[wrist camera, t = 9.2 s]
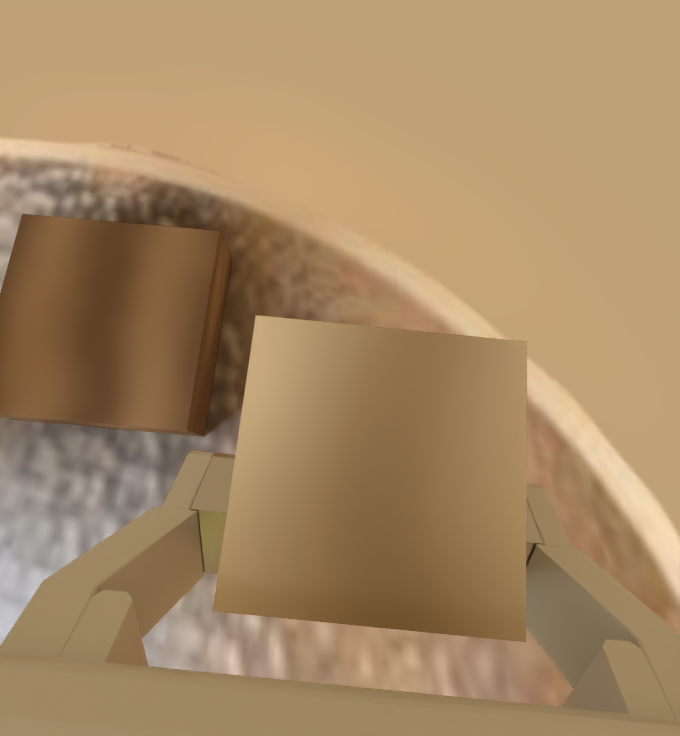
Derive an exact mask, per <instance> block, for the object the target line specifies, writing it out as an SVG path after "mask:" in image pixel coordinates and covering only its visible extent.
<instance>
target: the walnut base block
mask: <svg viewBox="0 0 680 736" xmlns="http://www.w3.org/2000/svg"><path fill="white" fill-rule="evenodd" d="M231 263H232V257H231V255H230V253H229V250H228V248H227V246H226V244H225V242H224V239H223V237H222V235H221V233H220V231H215V230H203V229H192V228H180V227H168V226H157V225H145V224H133V223H122V222H110V221H98V220H87V219H75V218H63V217H52V216H40V215H29V214H22V217H21V221H20V224H19V228H18V232H17V235H16V239H15V242H14V246H13V250H12V253H11V257H10V261H9V264H8V268H7V271H6V275H5V279H4V282H3V286H2V289H1V293H0V417H4V418H9V419H16V420H27V421H38V422H49V423H60V424H71V425H81V426H92V427H103V428H114V429H125V430H136V431H147V432H158V433H169V434H180V435H191V436H202V437H204V436H205V430H206V423H207V417H208V410H209V404H210V397H211V391H212V385H213V378H214V372H215V365H216V359H217V353H218V346H219V340H220V333H221V327H222V321H223V314H224V308H225V301H226V295H227V289H228V282H229V276H230V269H231Z"/></svg>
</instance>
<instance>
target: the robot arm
mask: <svg viewBox="0 0 680 736" xmlns="http://www.w3.org/2000/svg"><path fill="white" fill-rule="evenodd" d="M234 462H235V455H231V454H223V453H210V452H202V451H194V450H192V451H191V452H190V453H189V454H188V455H187V456H186V458H185V460H184V462H183V464H182V467H181V469H180V471H179V473H178V475H177V477H176V479H175V481H174V483H173V485H172V487H171V489H170V491H169V493H168V495H167V497H166V499H165V501H164V503H163V505H162V507H153V508H152V509H150V510H149V511H147V512H146V513H144V514H143V515H141V516H140V517H138V518H137V519H135V520H134V521H132V522H131V523H129V524H128V525H126V526H125V527H123V528H122V529H120V530H119V531H117V532H116V533H114V534H113V535H111V536H110V537H108V538H107V539H105V540H104V541H102V542H101V543H99V544H98V545H96V546H95V547H93V548H92V549H90V550H89V551H87V552H86V553H84V554H83V555H81V556H80V557H78V558H77V559H75V560H74V561H72V562H71V563H69V564H68V565H66V566H65V567H63V568H62V569H60V570H59V571H57V572H56V573H54V574H53V575H51V576H50V577H48V578H47V579H45V580H44V581H43V582H42V583H41V585H40V586H39V588H38V589H37V591H36V593H35V594H34V596H33V597H32V599H31V600H30V602H29V603H28V605H27V606H26V608H25V609H24V611H23V612H22V614H21V615H20V617H19V618H18V620H17V622H16V623H15V625H14V626H13V628H12V629H11V631H10V632H9V634H8V635H7V637H6V638H5V640H4V641H3V643H2V644H1V646H0V736H680V634H678V633H677V632H676V631H675V630H674V629H673V628H671V627H670V626H669V625H668V624H667V623H666V622H664V621H663V620H662V619H661V618H660V617H659V616H657V615H656V614H655V613H654V612H653V611H651V610H650V609H649V608H648V607H647V606H646V605H644V604H643V603H642V602H641V601H640V600H639V599H637V598H636V597H635V596H634V595H633V594H632V593H630V592H629V591H628V590H627V589H626V588H625V587H623V586H622V585H621V584H620V583H619V582H618V581H616V580H615V579H614V578H613V577H612V576H611V575H609V574H608V573H607V572H606V571H605V570H604V569H602V568H601V567H600V566H599V565H598V564H597V563H595V562H594V561H593V560H592V559H591V558H590V557H588V556H587V555H586V554H585V553H584V552H583V551H581V550H580V549H579V548H572V547H571V545H570V543H569V540H568V538H567V536H566V534H565V531H564V529H563V527H562V525H561V522H560V520H559V518H558V516H557V513H556V511H555V509H554V507H553V504H552V502H551V500H550V498H549V495H548V493H547V491H546V488H545V487H544V486H542V485H541V484H529V483H526V628H527V629H528V630H529V631H530V633H531V634H532V635H533V637H534V638H535V639H536V641H537V642H538V643H539V645H540V646H541V647H542V648H543V650H544V651H545V652H546V654H547V655H548V656H549V658H550V659H551V660H552V661H553V663H554V664H555V665H556V667H557V668H558V669H559V671H560V672H561V673H562V675H563V676H564V677H565V678H566V680H567V681H568V682H569V684H570V685H571V686H572V688H573V690H572V691H571V693H570V694H569V696H568V697H567V699H566V700H565V702H564V703H563V705H562V706H561V707H555V706H545V705H534V704H524V703H514V702H504V701H494V700H484V699H474V698H463V697H453V696H443V695H433V694H423V693H413V692H403V691H392V690H382V689H372V688H362V687H351V686H341V685H331V684H321V683H310V682H300V681H290V680H280V679H269V678H259V677H249V676H239V675H229V674H219V673H209V672H199V671H189V670H178V669H168V668H158V667H148V663H147V659H146V655H145V650H144V646H143V642H142V638H143V637H144V636H145V635H146V634H147V633H148V632H149V631H150V630H151V629H152V628H153V627H154V626H155V625H156V624H157V623H158V622H159V620H160V619H161V618H162V617H163V616H164V615H165V614H166V613H167V612H168V611H169V610H170V609H171V608H172V607H173V606H174V605H175V604H176V603H177V602H178V601H179V600H180V599H181V598H182V597H183V596H184V595H185V594H186V593H187V592H188V591H189V590H190V589H191V588H192V587H193V586H194V585H195V584H196V583H197V582H198V581H199V580H200V579H201V578H202V577H203V576H204V575H203V573H212V574H218V572H219V565H220V558H221V551H222V544H223V537H224V530H225V524H226V517H227V510H228V503H229V496H230V489H231V482H232V475H233V469H234Z"/></svg>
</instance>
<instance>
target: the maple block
mask: <svg viewBox="0 0 680 736" xmlns="http://www.w3.org/2000/svg"><path fill="white" fill-rule="evenodd" d="M526 440H527V342H524V341H514V340H504V339H493V338H483V337H473V336H463V335H453V334H442V333H432V332H422V331H412V330H401V329H391V328H381V327H371V326H361V325H350V324H340V323H330V322H320V321H309V320H299V319H289V318H279V317H269V316H258V315H256V318H255V324H254V331H253V338H252V345H251V352H250V359H249V366H248V373H247V379H246V386H245V393H244V400H243V407H242V414H241V421H240V427H239V434H238V441H237V448H236V455H235V462H234V469H233V475H232V482H231V489H230V496H229V503H228V510H227V517H226V524H225V530H224V537H223V544H222V551H221V558H220V565H219V572H218V578H217V585H216V592H215V599H214V606H213V611H218V612H228V613H238V614H248V615H258V616H268V617H278V618H288V619H298V620H308V621H318V622H329V623H339V624H349V625H359V626H369V627H379V628H389V629H399V630H409V631H419V632H429V633H439V634H449V635H460V636H470V637H480V638H490V639H500V640H510V641H520V642H526Z"/></svg>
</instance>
